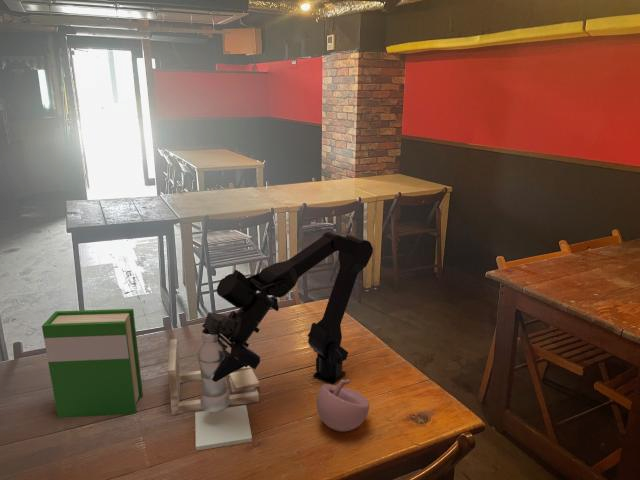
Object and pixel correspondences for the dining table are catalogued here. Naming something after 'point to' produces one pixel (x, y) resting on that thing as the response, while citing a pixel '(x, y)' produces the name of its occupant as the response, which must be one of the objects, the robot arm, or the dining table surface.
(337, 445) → the dining table surface
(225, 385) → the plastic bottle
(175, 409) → the birch rack
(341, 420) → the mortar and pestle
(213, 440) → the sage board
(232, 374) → the offcut stack
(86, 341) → the hardback book
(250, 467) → the dining table surface
